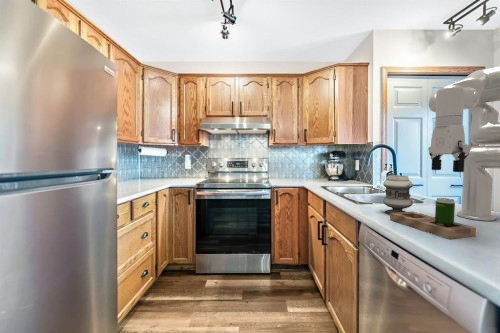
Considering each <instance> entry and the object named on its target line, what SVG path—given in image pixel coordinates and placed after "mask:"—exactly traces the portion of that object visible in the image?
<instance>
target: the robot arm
mask: <svg viewBox="0 0 500 333" xmlns="http://www.w3.org/2000/svg"><path fill="white" fill-rule="evenodd" d="M493 102H500V65H496V66H493V67H492V66H491V67H488V68H482V69H479V70H476V71H472V72H471V73H470V74H468V75H467V76H466V77H465V78H463V79H462V80H459V81H456V82H454V83H451V84H449V85H446V86H443V87H440V88H439V89H437V90H436V91H435V92H433V93H432V94H431V96H430V98H429V100H428V107H429V110H430V111H431V112H433V113H435V120H434V127H433V130H432V133H431V140H430V146H429V147H428V149H427V150H428V152H429V156H430V159H431V171H441V170H442V159H441V158H442V156H443V155H452V157H453V158H454V160H453V161H452V172H453V173H462V195H461V196H462V197H461V211H457V212H456V215H457V216H459V217H461V218H464V219H469V220H473V221H474V220H476V221H484V222H487V221H488V222H489V221H490V222H493V221H496V219H497V218H496V216H494V215H492V198H493V196H492V195H493V182H494V180H493V177H492V175H491V174H490V173H489V172H488V171H487V170H486V169H497V170H500V121H499V117H500V116H499V112H498V110H497V109H496V108H494V107H492V106H491V105H489V104H488V103H493ZM464 110H470V112H471V117H472V118H471V124H470V130H469V136H468V137H469V142H470V143H471V144H473V145H474V146H471V145H469V144H467V143H466V136H465V135H466V133H465V128H464V127H465V126H464V122H463V121H464Z"/></svg>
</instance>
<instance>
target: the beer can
mask: <svg viewBox="0 0 500 333" xmlns="http://www.w3.org/2000/svg"><path fill="white" fill-rule="evenodd" d="M434 207H435V208H434V209H435V210H434V211H435V212H434V217H435V224H436V225H440V226H443V227H447V228H448V227H454V222H455V213H456V212H455V211H456V202H455V199H452V198H446V197H437V198H436V200H435V206H434Z"/></svg>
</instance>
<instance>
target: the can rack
mask: <svg viewBox="0 0 500 333" xmlns="http://www.w3.org/2000/svg"><path fill="white" fill-rule="evenodd" d="M389 220H390V221H392V222H395V223H398V224H401V225H405V226H407V227H410V228H412V229H413V228H414V229H417V230H420V231H423V232H425V233H428V232H429V234H431V233H432V235H434V234H435V235H434V236H438V237H441V238H442V239H443V238H444V239H446V240H454V239H455V240H456V239H463V238H465V239H466V238H474V237H476V236H477V227H476V226H471V225H468V224H467V225H466V224H464V223H458V222H455V221H454V227H448V228H447V227H443V226H440V225H436V224H435V216H432V215H428V214H424V213H420V212H417V211H416V212H415V211H406V212H399V213H390V214H389Z"/></svg>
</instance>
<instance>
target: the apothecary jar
mask: <svg viewBox="0 0 500 333" xmlns="http://www.w3.org/2000/svg"><path fill="white" fill-rule="evenodd" d="M382 184H383V186H384V187H385V197H384V198H383V199H382V202H383V204H384V205H385V206H386V207H389V208H391V209H387V210H385V211H384V213H386V215H390V213H399V212H407V211H405V210H406V209H409V208H410V207H412V206H413V203H414V202H413V200H412V198H410V189H412V188H413V185H414V184H413V182H412V181H410V179H409V176H408V175H396V174H395V175H394V174H393V175H390V174H389V175H387V177H386V179H385V180H384V181H383V183H382Z"/></svg>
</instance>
